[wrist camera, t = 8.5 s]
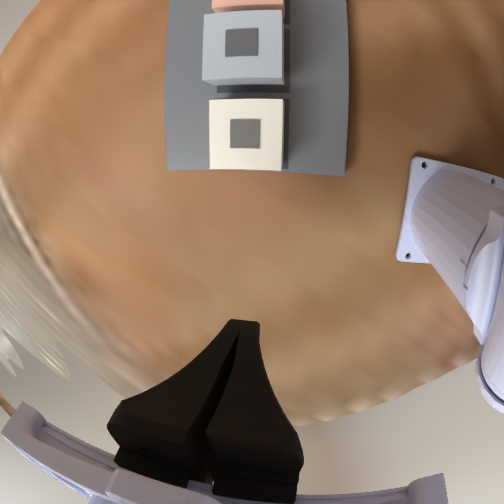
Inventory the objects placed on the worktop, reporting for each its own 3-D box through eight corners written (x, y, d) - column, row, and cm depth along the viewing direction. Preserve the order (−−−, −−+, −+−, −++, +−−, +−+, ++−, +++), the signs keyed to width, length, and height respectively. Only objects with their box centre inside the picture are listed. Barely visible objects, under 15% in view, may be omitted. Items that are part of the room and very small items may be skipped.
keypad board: (336, -59, 10) (337, -67, 9) (341, 173, 18) (344, 176, 17) (182, -52, 11) (177, -59, 10) (173, 167, 20) (166, 170, 19)
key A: (284, 102, 16) (282, 99, 13) (282, 165, 17) (280, 171, 15) (220, 102, 16) (208, 100, 14) (220, 163, 18) (209, 169, 16)
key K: (284, 24, 12) (281, 9, 10) (283, 84, 14) (281, 77, 12) (216, 27, 13) (203, 13, 11) (214, 85, 15) (201, 79, 12)
